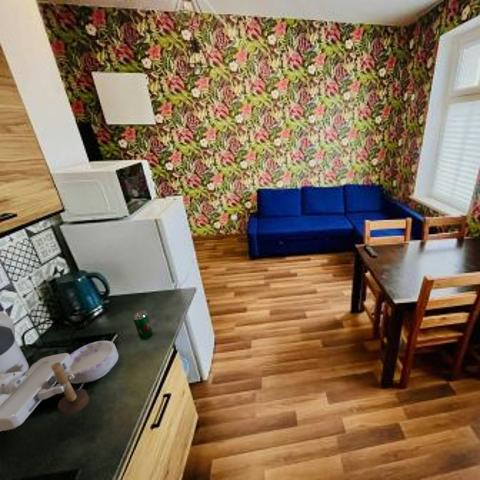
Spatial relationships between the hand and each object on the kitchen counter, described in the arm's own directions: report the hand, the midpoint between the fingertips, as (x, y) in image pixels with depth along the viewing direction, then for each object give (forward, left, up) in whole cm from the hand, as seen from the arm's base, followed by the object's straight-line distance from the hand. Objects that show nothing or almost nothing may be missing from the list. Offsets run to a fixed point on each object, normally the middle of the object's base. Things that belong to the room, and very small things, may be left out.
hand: (68, 382), depth 71 cm
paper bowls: (-7, +26, -21) cm, 34 cm away
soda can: (+7, +40, -21) cm, 46 cm away
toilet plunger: (-1, 0, -8) cm, 9 cm away
